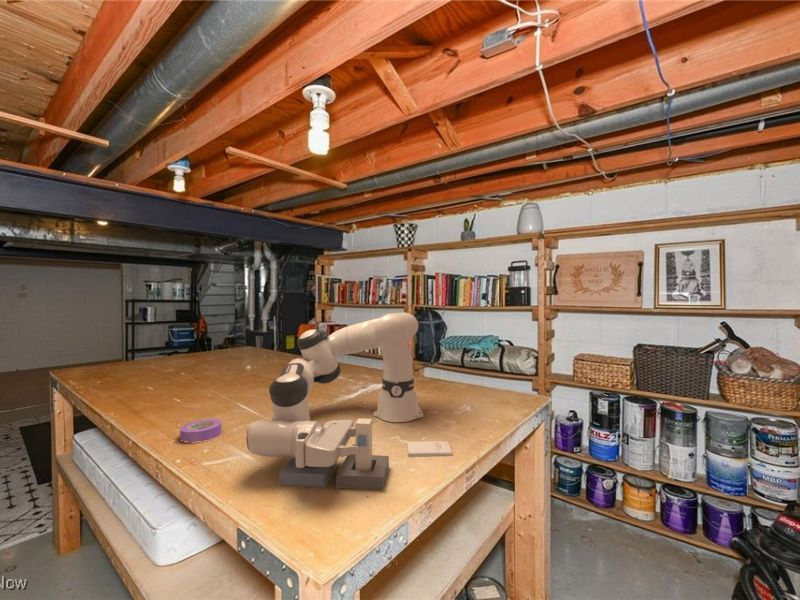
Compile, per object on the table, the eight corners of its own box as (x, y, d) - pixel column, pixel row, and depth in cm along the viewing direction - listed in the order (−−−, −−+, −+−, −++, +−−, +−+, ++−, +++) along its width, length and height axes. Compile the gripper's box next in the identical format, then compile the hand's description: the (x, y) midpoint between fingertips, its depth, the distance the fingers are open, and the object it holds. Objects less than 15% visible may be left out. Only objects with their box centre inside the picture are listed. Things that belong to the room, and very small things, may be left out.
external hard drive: (407, 446, 107) (447, 445, 107) (408, 458, 98) (452, 457, 99) (406, 441, 107) (447, 440, 107) (408, 452, 98) (452, 451, 99)
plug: (358, 473, 89) (358, 418, 89) (372, 473, 89) (372, 418, 89) (355, 481, 85) (354, 424, 85) (369, 482, 85) (369, 425, 84)
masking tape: (177, 446, 106) (176, 434, 106) (183, 433, 117) (183, 421, 117) (220, 440, 111) (220, 428, 111) (222, 427, 121) (222, 416, 121)
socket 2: (347, 465, 93) (347, 454, 93) (388, 467, 92) (388, 455, 92) (336, 487, 82) (336, 475, 82) (382, 490, 81) (382, 477, 81)
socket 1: (297, 463, 95) (297, 452, 95) (336, 464, 94) (336, 453, 94) (279, 484, 84) (279, 472, 84) (324, 487, 83) (324, 474, 83)
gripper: (322, 435, 99) (370, 437, 97) (293, 471, 78) (354, 474, 77) (322, 413, 99) (370, 414, 97) (293, 443, 78) (354, 445, 77)
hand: (363, 441), depth 87 cm, fingers open, 8 cm apart
